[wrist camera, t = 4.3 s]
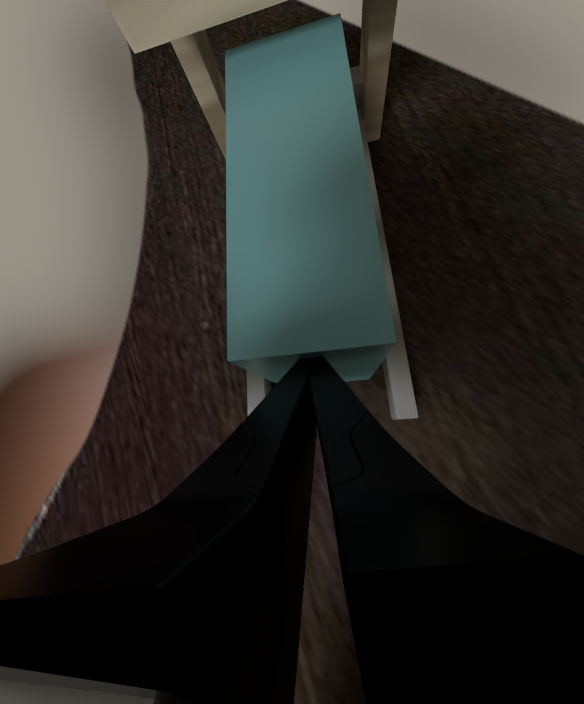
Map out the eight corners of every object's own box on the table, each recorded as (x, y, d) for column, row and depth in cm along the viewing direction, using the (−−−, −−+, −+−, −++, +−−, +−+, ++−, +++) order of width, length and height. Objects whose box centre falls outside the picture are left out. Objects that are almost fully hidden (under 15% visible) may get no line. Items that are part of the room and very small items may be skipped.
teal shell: (369, 379, 15) (396, 342, 7) (284, 386, 16) (227, 361, 8) (341, 180, 18) (340, 13, 11) (272, 195, 19) (225, 50, 12)
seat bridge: (434, 415, 14) (724, 421, 3) (238, 429, 16) (21, 460, 5) (374, 112, 19) (411, -259, 9) (232, 149, 21) (118, -118, 10)
